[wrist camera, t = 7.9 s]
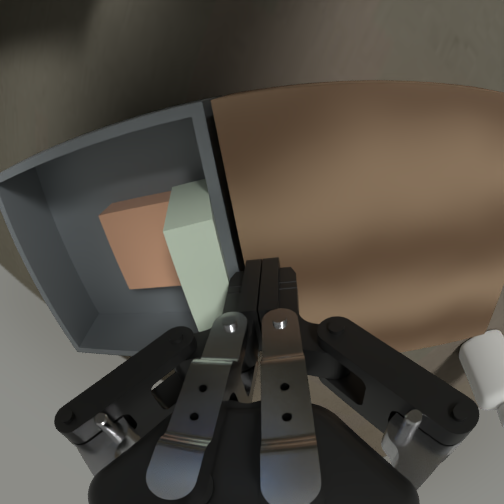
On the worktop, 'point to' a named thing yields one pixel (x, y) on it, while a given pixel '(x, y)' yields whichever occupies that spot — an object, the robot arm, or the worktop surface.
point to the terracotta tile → (141, 240)
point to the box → (91, 230)
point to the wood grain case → (374, 200)
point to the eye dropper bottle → (485, 369)
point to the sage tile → (197, 251)
